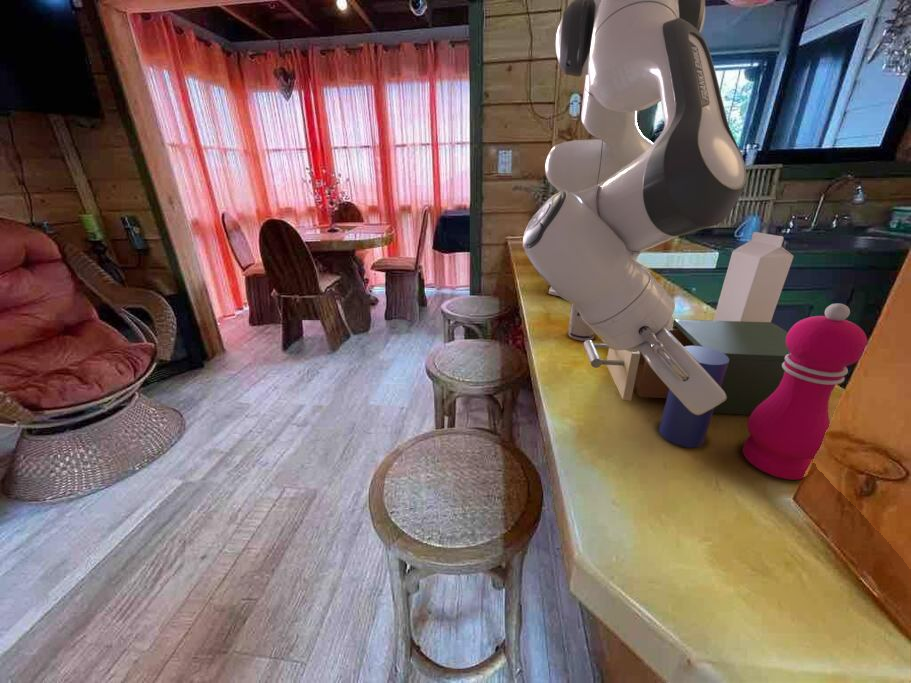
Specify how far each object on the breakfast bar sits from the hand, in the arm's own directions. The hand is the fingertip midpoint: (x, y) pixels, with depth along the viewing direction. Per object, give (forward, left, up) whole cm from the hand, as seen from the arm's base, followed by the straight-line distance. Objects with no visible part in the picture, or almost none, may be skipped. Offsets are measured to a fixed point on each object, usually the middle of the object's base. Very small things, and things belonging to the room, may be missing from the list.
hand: (699, 389), depth 47 cm
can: (0, -1, -7) cm, 7 cm away
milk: (-27, +18, -7) cm, 33 cm away
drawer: (-12, -2, -6) cm, 14 cm away
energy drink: (-32, -9, -7) cm, 34 cm away
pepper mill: (+4, +8, -7) cm, 12 cm away
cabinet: (-12, +10, -7) cm, 17 cm away
